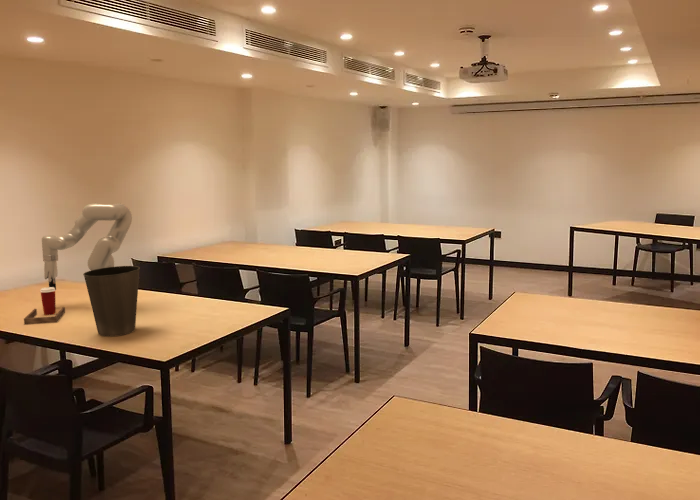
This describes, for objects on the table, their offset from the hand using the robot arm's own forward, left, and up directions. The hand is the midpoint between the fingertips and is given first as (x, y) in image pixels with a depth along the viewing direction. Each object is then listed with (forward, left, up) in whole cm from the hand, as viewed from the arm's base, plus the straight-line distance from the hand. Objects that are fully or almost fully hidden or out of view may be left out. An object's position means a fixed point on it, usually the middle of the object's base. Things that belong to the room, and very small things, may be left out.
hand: (52, 290), depth 333 cm
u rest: (0, +21, -10) cm, 23 cm away
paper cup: (0, +12, -11) cm, 16 cm away
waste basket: (-39, +58, -11) cm, 71 cm away
